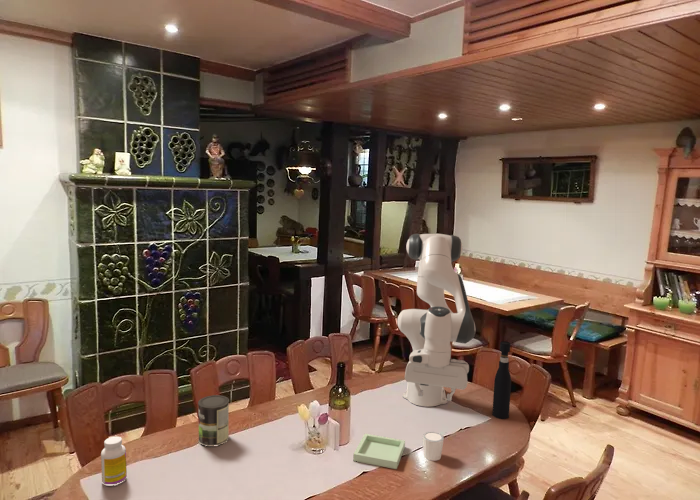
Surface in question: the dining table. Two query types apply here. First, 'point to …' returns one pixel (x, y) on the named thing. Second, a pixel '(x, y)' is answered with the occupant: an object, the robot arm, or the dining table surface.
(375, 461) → the tray
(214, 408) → the coffee can
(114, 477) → the supplement bottle
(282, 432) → the dining table surface
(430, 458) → the shot glass
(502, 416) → the wine bottle
